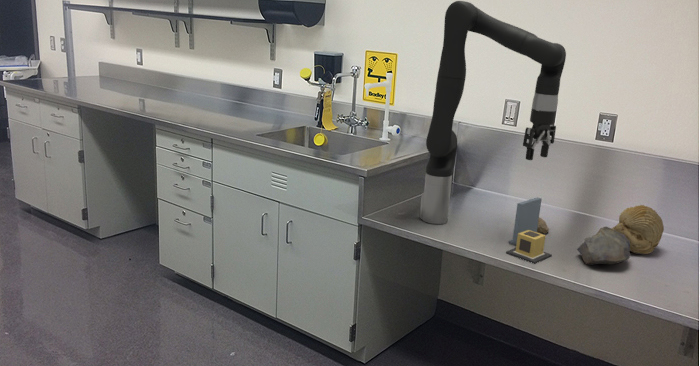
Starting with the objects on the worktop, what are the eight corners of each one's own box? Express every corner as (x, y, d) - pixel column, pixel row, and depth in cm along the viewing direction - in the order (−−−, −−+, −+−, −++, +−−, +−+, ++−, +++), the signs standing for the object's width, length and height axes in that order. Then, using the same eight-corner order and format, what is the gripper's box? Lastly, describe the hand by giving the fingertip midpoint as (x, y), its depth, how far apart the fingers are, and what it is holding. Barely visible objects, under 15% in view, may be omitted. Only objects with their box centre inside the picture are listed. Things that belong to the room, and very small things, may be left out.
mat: (505, 253, 182) (506, 251, 182) (523, 246, 188) (523, 244, 188) (534, 263, 175) (534, 261, 174) (551, 256, 181) (551, 254, 181)
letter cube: (515, 251, 181) (517, 233, 180) (526, 247, 185) (528, 229, 184) (532, 258, 177) (534, 239, 175) (542, 253, 181) (545, 234, 180)
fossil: (594, 242, 195) (602, 199, 191) (633, 237, 202) (641, 196, 198) (630, 259, 182) (639, 214, 178) (670, 254, 188) (680, 210, 184)
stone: (588, 214, 187) (639, 224, 179) (584, 243, 191) (634, 254, 183) (572, 236, 173) (626, 249, 165) (568, 267, 177) (621, 280, 169)
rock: (531, 235, 200) (533, 223, 198) (518, 223, 210) (520, 212, 209) (552, 235, 201) (554, 223, 199) (538, 224, 211) (540, 212, 210)
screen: (508, 243, 190) (514, 202, 187) (528, 235, 198) (534, 196, 195) (519, 246, 188) (525, 205, 184) (539, 239, 195) (544, 199, 192)
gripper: (545, 105, 190) (538, 153, 194) (521, 107, 181) (513, 158, 185) (566, 109, 185) (558, 158, 189) (542, 111, 176) (534, 163, 180)
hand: (536, 158), depth 187 cm, fingers open, 8 cm apart
